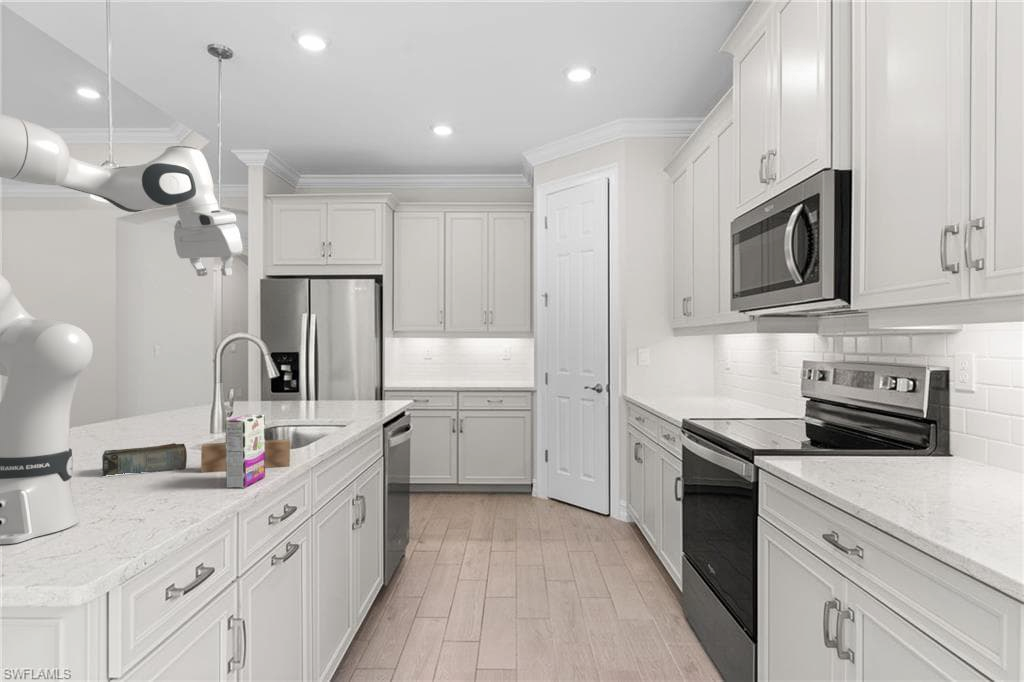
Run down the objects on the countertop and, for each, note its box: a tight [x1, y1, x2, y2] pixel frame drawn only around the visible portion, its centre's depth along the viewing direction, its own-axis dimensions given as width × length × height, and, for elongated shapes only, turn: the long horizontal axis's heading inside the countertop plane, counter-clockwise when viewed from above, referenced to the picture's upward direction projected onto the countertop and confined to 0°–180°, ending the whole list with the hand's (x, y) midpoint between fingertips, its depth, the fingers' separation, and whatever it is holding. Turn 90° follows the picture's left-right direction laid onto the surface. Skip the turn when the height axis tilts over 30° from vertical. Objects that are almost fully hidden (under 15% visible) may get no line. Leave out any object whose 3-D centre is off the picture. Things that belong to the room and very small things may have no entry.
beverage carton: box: [101, 443, 188, 477], centre depth 157 cm, size 8×19×7 cm, turn 123°
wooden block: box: [200, 438, 291, 473], centre depth 160 cm, size 22×4×7 cm, turn 114°
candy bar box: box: [225, 413, 266, 489], centre depth 144 cm, size 11×5×16 cm, turn 179°
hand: (215, 275), depth 142 cm, fingers open, 8 cm apart
